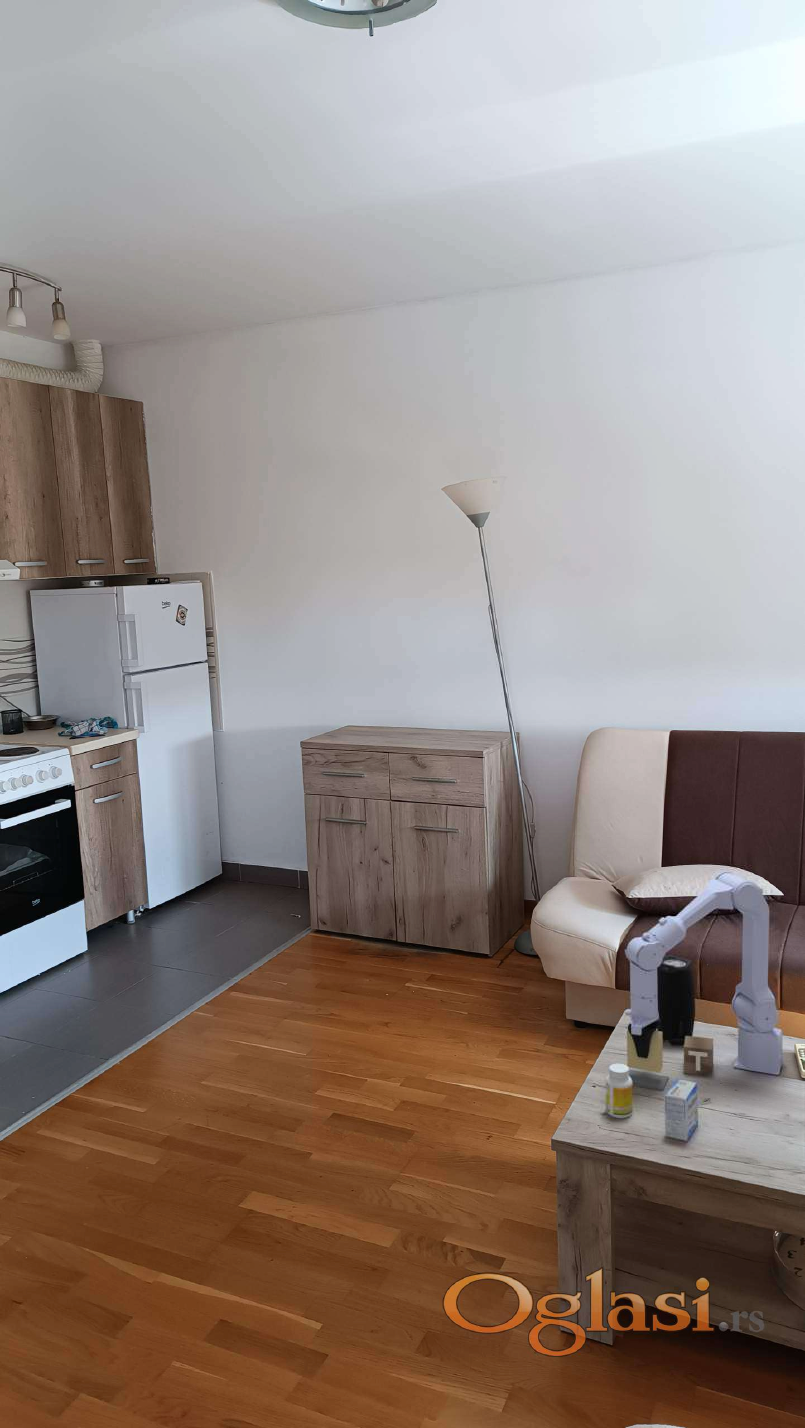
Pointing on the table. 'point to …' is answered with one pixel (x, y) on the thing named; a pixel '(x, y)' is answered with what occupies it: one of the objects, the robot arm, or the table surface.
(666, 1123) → the medicine box
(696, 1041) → the letter cube
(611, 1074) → the supplement bottle
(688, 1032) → the portable speaker
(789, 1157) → the table surface
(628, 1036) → the cream rectangular block
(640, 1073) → the mat
